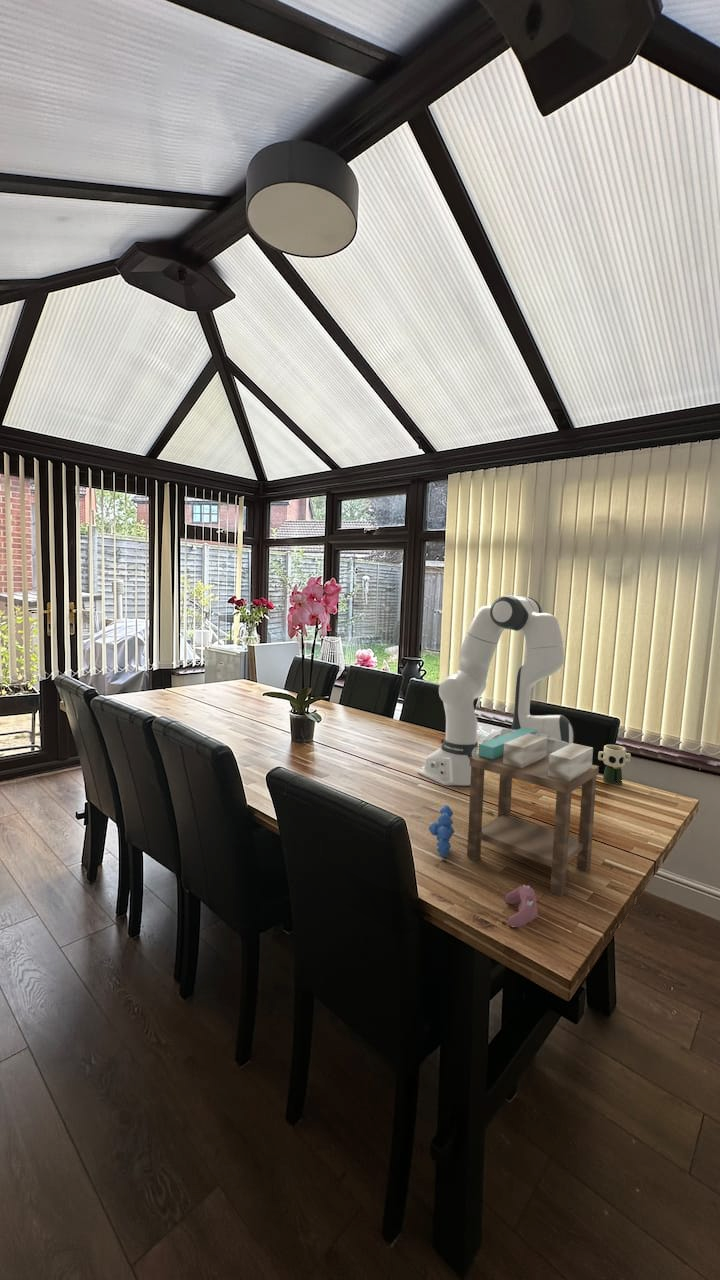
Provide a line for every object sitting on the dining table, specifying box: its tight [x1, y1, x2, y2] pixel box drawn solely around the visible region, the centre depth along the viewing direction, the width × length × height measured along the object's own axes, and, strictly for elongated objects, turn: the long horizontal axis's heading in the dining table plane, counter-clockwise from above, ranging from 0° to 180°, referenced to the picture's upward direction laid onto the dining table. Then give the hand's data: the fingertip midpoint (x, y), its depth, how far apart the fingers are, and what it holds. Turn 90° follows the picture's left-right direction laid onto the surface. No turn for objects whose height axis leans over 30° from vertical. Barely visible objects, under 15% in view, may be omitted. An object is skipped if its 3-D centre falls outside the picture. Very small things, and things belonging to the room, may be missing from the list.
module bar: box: [477, 727, 537, 759], centre depth 141 cm, size 4×24×3 cm, turn 136°
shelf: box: [466, 733, 600, 897], centre depth 131 cm, size 25×18×31 cm
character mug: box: [597, 744, 632, 785], centre depth 189 cm, size 11×7×13 cm, turn 82°
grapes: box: [428, 804, 455, 858], centre depth 137 cm, size 12×7×12 cm, turn 166°
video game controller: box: [504, 883, 539, 928], centre depth 110 cm, size 10×5×7 cm, turn 169°
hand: (524, 734), depth 147 cm, fingers closed on module bar, 4 cm apart
